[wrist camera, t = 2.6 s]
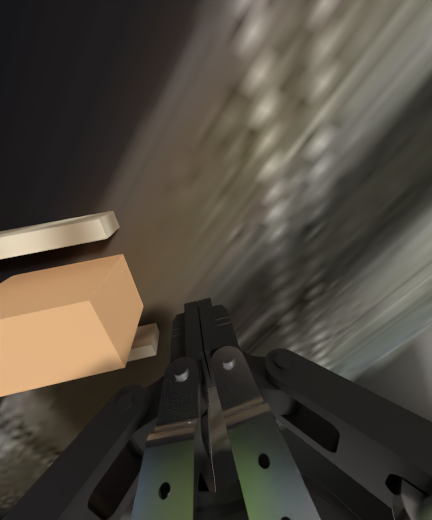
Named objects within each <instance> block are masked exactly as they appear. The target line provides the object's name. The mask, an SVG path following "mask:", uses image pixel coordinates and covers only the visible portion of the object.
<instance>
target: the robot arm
mask: <svg viewBox="0 0 432 520" xmlns="http://www.w3.org/2000/svg"><path fill="white" fill-rule="evenodd" d="M198 305H199V306H198ZM184 309H185V313H182V314H178V315H176V317H175V319H174V321H173V326H172V330H173V331H172V344H171V362H170V364H169V365H168V367H167V368H166V370H165V373H164V376H163V377H162V378H161V379H159V380H158V381H157V382H155V383H153V384H152V385H150V386H148V387H146V388H145V389H143V388H142V387H141V386H139V385H129V386H126V387H124V388H122V389H121V390H119V391H118V392H117V393H116V394H115V395H114V396H113V397H112V398H111V399H110V400H109V402H108V403H107V404H106V405H105V406H104V407H103V408H102V409H101V410H100V412H99V413H98V414H97V415H96V416H95V417H94V418H93V419H92V420H91V422H90V423H89V424H88V425H87V426H86V427H85V428H84V429H83V430H82V432H81V433H80V434H79V435H78V436H77V437H76V438H75V439H74V440H73V442H72V443H71V444H70V445H69V446H68V447H67V448H66V449H65V450H64V451H63V453H62V454H61V455H60V456H59V457H58V458H57V459H56V460H55V461H54V463H53V464H52V465H51V466H50V467H49V468H48V469H47V470H46V471H45V473H44V474H43V475H42V476H41V477H40V478H39V479H38V480H37V481H36V483H35V484H34V485H33V486H32V487H31V488H30V489H29V490H28V491H27V492H26V494H25V495H24V496H23V497H22V498H21V499H20V500H19V501H18V502H17V504H16V505H15V506H14V507H13V508H12V509H11V510H10V511H9V512H8V514H7V515H6V516H5V517H4V518H3V519H2V520H120V518H121V516H122V515H123V513H124V511H125V509H126V508H127V506H128V504H129V503H130V501H131V499H132V498H133V496H134V494H135V493H136V497H135V502H134V507H133V513H132V518H131V520H361V519H360V518H359V517H358V516H357V515H356V514H355V513H354V512H353V511H351V510H350V509H349V508H348V507H347V506H346V505H345V504H344V503H343V502H341V501H340V500H339V499H338V498H337V497H336V496H335V495H334V494H333V493H332V492H330V491H329V490H328V489H327V488H325V487H324V486H323V485H321V484H320V483H318V482H316V481H315V480H313V479H311V478H309V477H307V476H305V475H302V474H300V473H299V470H298V468H297V466H296V464H295V461H294V460H293V457H292V455H291V453H290V450H289V449H288V446H287V444H286V442H285V439H284V437H283V435H282V433H281V430H280V428H279V426H278V424H277V422H276V419H277V420H278V421H279V422H281V423H282V424H283V425H285V426H286V427H287V428H288V429H290V430H291V431H293V432H294V433H295V434H296V435H298V436H299V437H300V438H301V439H303V440H304V441H305V442H307V443H308V444H309V445H310V446H312V447H313V448H314V449H316V450H317V451H318V452H319V453H321V454H322V455H323V456H325V457H326V458H327V459H329V460H330V461H331V462H332V463H334V464H335V465H336V466H338V467H339V468H340V469H341V470H343V471H344V472H345V473H347V474H348V475H349V476H350V477H352V478H353V479H354V480H356V481H357V482H358V483H359V484H361V485H362V486H363V487H365V488H366V489H367V490H368V491H370V492H371V493H372V494H374V495H375V496H376V497H378V498H379V499H380V500H381V501H383V502H384V503H385V504H387V505H388V506H389V507H390V508H392V510H393V516H394V519H395V520H432V422H431V421H429V420H427V419H424V418H422V417H421V416H419V415H417V414H415V413H413V412H410V411H409V410H407V409H405V408H403V407H401V406H399V405H397V404H395V403H393V402H391V401H389V400H387V399H385V398H383V397H381V396H379V395H377V394H375V393H373V392H371V391H369V390H367V389H365V388H363V387H361V386H359V385H357V384H355V383H353V382H351V381H349V380H347V379H345V378H343V377H341V376H339V375H337V374H335V373H334V372H332V371H330V370H328V369H326V368H324V367H322V366H320V365H318V364H316V363H314V362H312V361H310V360H308V359H306V358H304V357H302V356H300V355H298V354H296V353H294V352H292V351H290V350H287V349H275V350H272V351H270V352H269V353H268V354H267V356H266V357H256V356H251V355H248V354H246V353H244V352H243V351H242V350H241V349H240V347H239V345H238V343H237V339H236V336H235V333H234V330H233V327H232V324H231V321H230V318H229V315H228V312H227V309H226V308H224V307H223V306H222V305H217V306H213V307H212V303H211V299H210V298H207V299H203V300H199V301H198V302H197V301H194V302H190V303H185V304H184ZM210 375H211V376H210ZM211 378H212V382H213V386H217V390H218V394H219V399H220V403H221V407H222V411H223V415H224V419H225V423H226V427H227V431H228V435H229V440H230V444H231V448H232V452H233V455H234V460H235V464H236V468H237V472H238V476H239V480H238V481H236V482H235V483H234V484H232V485H231V486H230V487H228V488H227V489H226V490H224V491H222V492H220V493H216V491H215V481H214V473H213V467H212V454H211V433H210V413H209V404H208V403H209V399H208V391H207V388H210V387H212V383H211ZM275 418H276V419H275Z"/></svg>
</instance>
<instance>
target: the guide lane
mask: <svg viewBox="0 0 432 520" xmlns="http://www.w3.org/2000/svg"><path fill="white" fill-rule="evenodd" d="M119 228H120V227H119V225H118V222H117V219H116V217H115V214H114V211H109V212H104V213H98V214H93V215H87V216H82V217H77V218H71V219H66V220H60V221H55V222H50V223H44V224H39V225H33V226H28V227H23V228H17V229H12V230H6V231H1V232H0V259H4V258H10V257H15V256H20V255H25V254H30V253H35V252H41V251H46V250H51V249H56V248H61V247H67V246H72V245H77V244H82V243H87V242H92V241H98V240H103V239H108V238H109V237H110V236H111V235H112V234H113V233H114V232H115V231H116V230H117V229H119ZM159 333H160V332H159V330H158V327H157V324H156V323H153V324H148V325H144V326H139V327H137V330H136V333H135V336H134V340H133V343H132V346H131V350H130V353H129V357H128V360H127V362H128V361H132V360H137V359H141V358H145V357H150V356H154V355H156V352H157V346H158V339H159Z"/></svg>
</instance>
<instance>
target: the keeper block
mask: <svg viewBox="0 0 432 520" xmlns="http://www.w3.org/2000/svg"><path fill="white" fill-rule="evenodd" d="M142 310H143V304H142V301H141V299H140V296H139V294H138V291H137V289H136V286H135V283H134V281H133V278H132V276H131V273H130V271H129V268H128V266H127V263H126V261H125V258H124V256H123V254H120V255H115V256H110V257H105V258H100V259H95V260H90V261H85V262H80V263H75V264H70V265H65V266H60V267H55V268H50V269H45V270H40V271H35V272H30V273H24V274H19V275H14V276H12V277H10V278H8V279H7V280H5V281H4V282H2V283H0V397H1V396H5V395H9V394H14V393H18V392H22V391H27V390H31V389H35V388H39V387H44V386H48V385H52V384H57V383H61V382H65V381H70V380H74V379H78V378H82V377H87V376H91V375H95V374H100V373H104V372H108V371H113V370H117V369H121V368H125V367H126V363H127V360H128V357H129V353H130V350H131V346H132V343H133V340H134V336H135V333H136V330H137V326H138V323H139V320H140V316H141V313H142Z"/></svg>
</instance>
